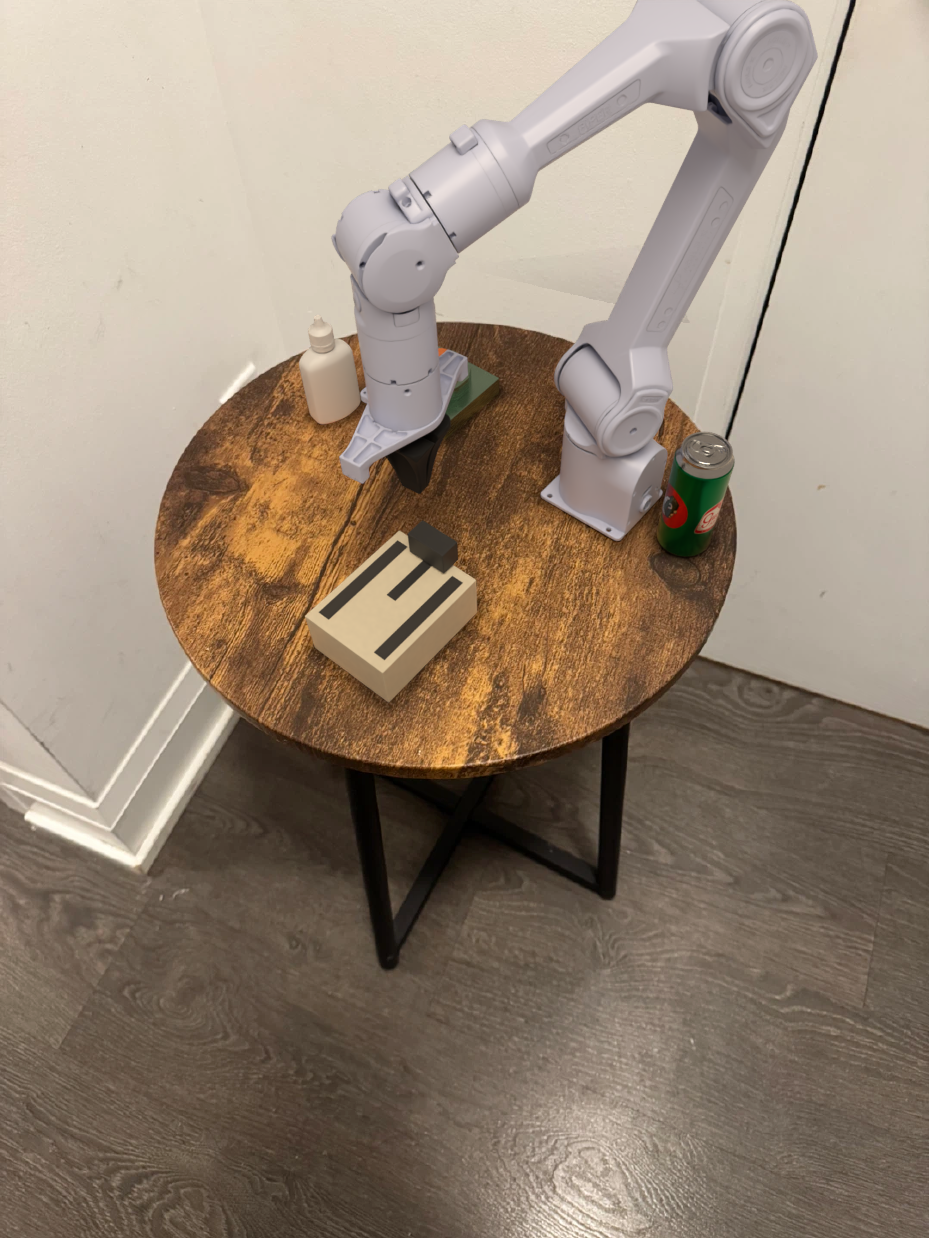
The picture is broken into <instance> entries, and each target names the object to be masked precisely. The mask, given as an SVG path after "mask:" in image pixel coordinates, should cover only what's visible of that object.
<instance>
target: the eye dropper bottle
mask: <svg viewBox="0 0 929 1238" xmlns="http://www.w3.org/2000/svg"><path fill="white" fill-rule="evenodd" d="M307 333H308V338H309V343H310V347H308V348H307V349H306V350H305V352H304V353H303V354H302V355H301V357H300V359H299V361H298V368H299V372H300V377H301V381H302V386H303V390H304V391H303V392H304V395H305V401H306V404H307V407H308V412H309V415H310V417H311V418H312V419H313V420H314V421H315V422H316V423H317V424H320V425H328V424H332V423H336V422H338V421H341V420H343V419H345V418H346V417H348V416H350V415H351V414H353V412H355V411H356V410H357V409H358V408H359V406H360V405H361V402H362V401H361V395H360V392H361V391H360V388H359V381H358V374H357V369H356V362H355V357H354V353H353V350H352V347H351V346H350V345H349V343H347V342H346V341H344V340H343V339H341V338H335V335H334V330H333V326H332V325H331V323H329V322H327V321H324V320H323V318H322V316H321V314H316V315H314V317H313V323H311V325H309V326H308V328H307Z"/></svg>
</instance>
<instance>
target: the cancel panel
mask: <svg viewBox="0 0 929 1238" xmlns="http://www.w3.org/2000/svg"><path fill="white" fill-rule="evenodd" d="M438 348H442V347H441V346H439V345H438ZM450 350H451V349H450ZM451 351H454V350H451ZM454 352H456V353H458V352H457V351H454ZM498 395H500V378H499V377H498V376H496V375H495V374H493V373H491V372H489V371H487V370H485V369H483V368H482V367H479V366H477V365H475V364H473V363H471V362H470V361H468V376H467V377H466V378H465V379H464V380H463V381H457V382H456V385H455V388H454V391H453V393H452V396H451V399H450V401H449V404H448V407H447V410H446V412H445V414H447V415H448V416H449V417H450V420H451V428H450V429H449V431H448V432H447V433H446V435H445V437H444V439H443V440H448V439H449V438H450V437H451V436H452V435H454V433H456V432H457V431H458V430H459V429H460V428H461V427H463V425H464V424H466V423H467V422H468V421H469V420H470V419H472V418H473V417H474V416H475V415H476V414H477V413H479V412H480V411H481V410H482V409H483V408H485V406H487V405H488V404H489V403H490V402H491V401H493V399H494V398H496V397H497V396H498Z"/></svg>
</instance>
